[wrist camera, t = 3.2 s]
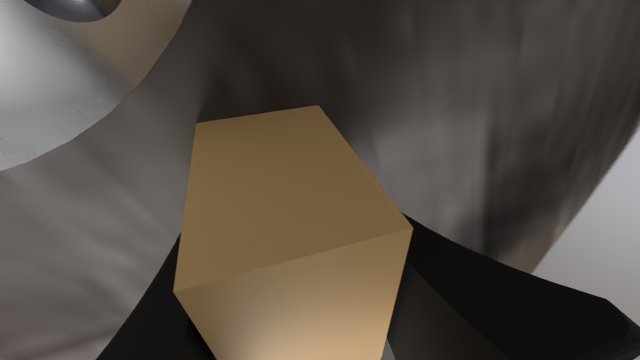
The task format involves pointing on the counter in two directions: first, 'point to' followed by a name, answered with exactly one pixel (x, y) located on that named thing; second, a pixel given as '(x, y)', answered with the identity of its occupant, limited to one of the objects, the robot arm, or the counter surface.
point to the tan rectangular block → (287, 241)
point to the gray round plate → (73, 65)
